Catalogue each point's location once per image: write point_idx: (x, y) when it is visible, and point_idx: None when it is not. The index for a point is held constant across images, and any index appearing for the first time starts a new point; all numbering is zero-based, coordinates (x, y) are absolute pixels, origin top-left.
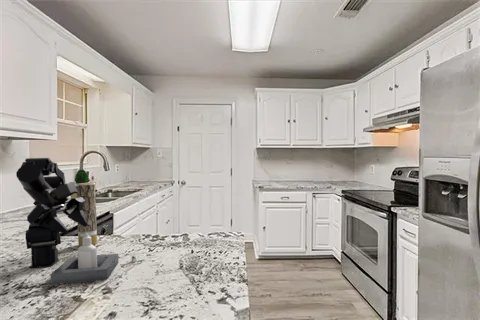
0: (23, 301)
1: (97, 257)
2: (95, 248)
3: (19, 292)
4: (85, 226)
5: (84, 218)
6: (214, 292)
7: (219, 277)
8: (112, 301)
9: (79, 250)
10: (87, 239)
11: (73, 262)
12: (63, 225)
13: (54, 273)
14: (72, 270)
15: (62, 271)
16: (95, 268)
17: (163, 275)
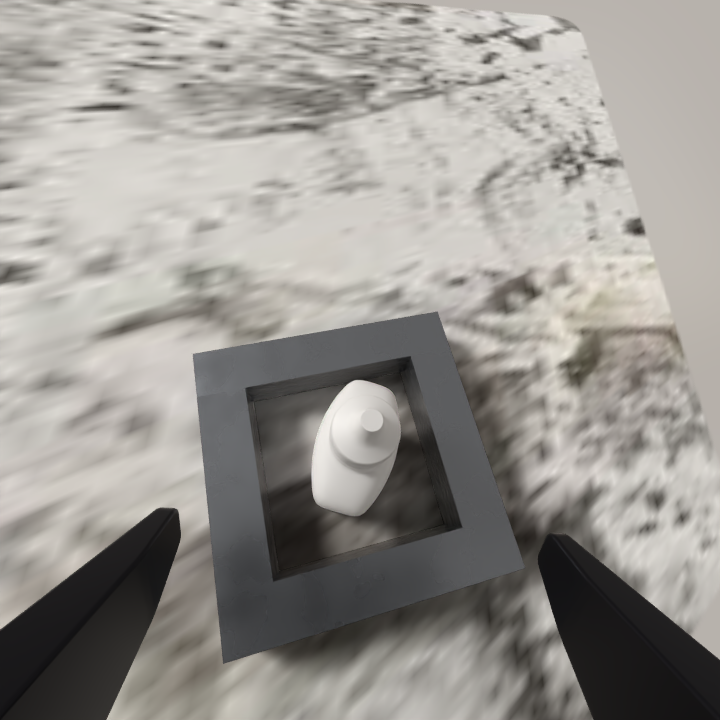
0: (651, 563)
1: (252, 446)
2: (363, 380)
3: None
4: (180, 535)
5: (90, 584)
6: (491, 54)
7: (399, 42)
8: (579, 250)
9: (383, 486)
10: (390, 410)
11: (320, 567)
12: (629, 605)
13: (515, 550)
14: (467, 471)
15: (483, 522)
16: (435, 366)
17: (382, 165)
